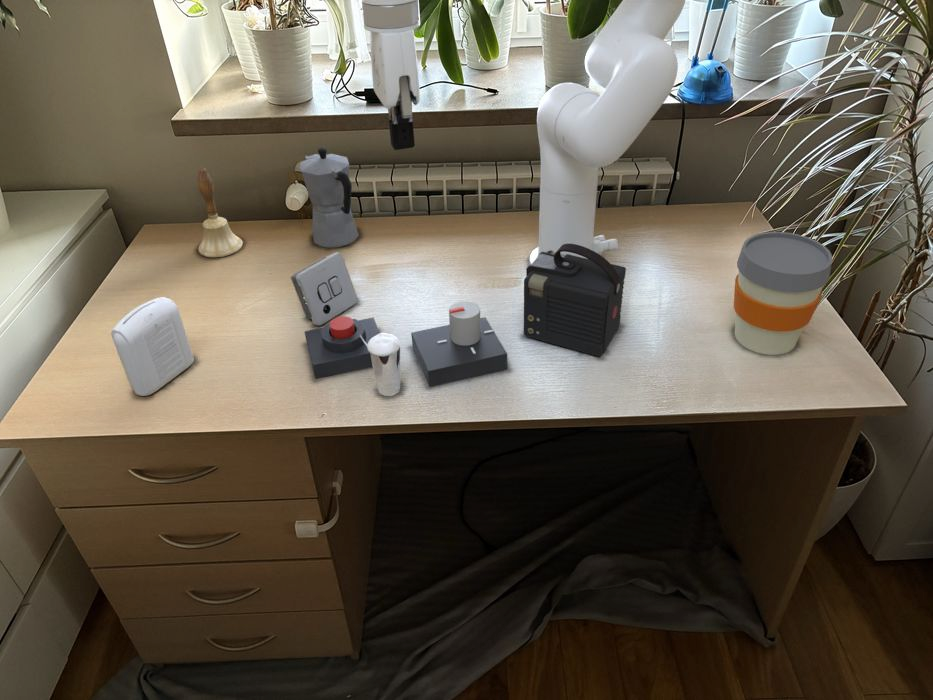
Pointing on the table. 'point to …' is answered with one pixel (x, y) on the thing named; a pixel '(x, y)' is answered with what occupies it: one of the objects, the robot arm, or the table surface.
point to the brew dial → (465, 323)
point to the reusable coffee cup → (778, 289)
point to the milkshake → (385, 362)
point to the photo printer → (152, 345)
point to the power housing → (340, 349)
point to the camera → (573, 299)
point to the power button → (342, 327)
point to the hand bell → (215, 224)
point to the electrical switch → (325, 289)
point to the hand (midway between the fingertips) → (403, 146)
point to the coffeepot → (329, 198)
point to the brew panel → (457, 355)
